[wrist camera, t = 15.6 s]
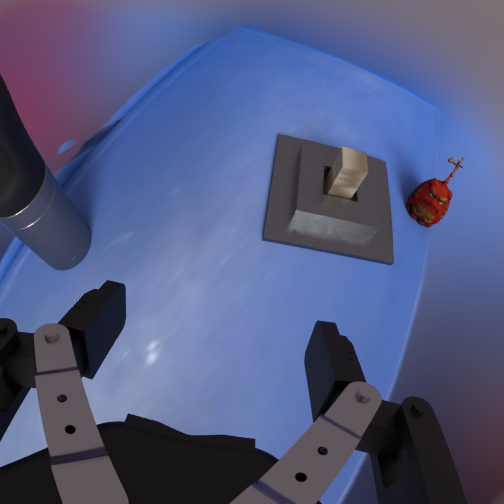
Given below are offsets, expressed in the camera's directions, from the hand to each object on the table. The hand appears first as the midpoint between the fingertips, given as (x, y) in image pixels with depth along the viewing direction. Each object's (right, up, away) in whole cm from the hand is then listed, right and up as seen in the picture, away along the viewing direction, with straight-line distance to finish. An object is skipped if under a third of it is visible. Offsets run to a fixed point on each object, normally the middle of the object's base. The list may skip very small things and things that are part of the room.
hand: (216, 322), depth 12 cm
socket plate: (+16, +13, +41) cm, 45 cm away
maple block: (+16, +13, +40) cm, 44 cm away
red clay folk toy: (+34, +11, +42) cm, 55 cm away
